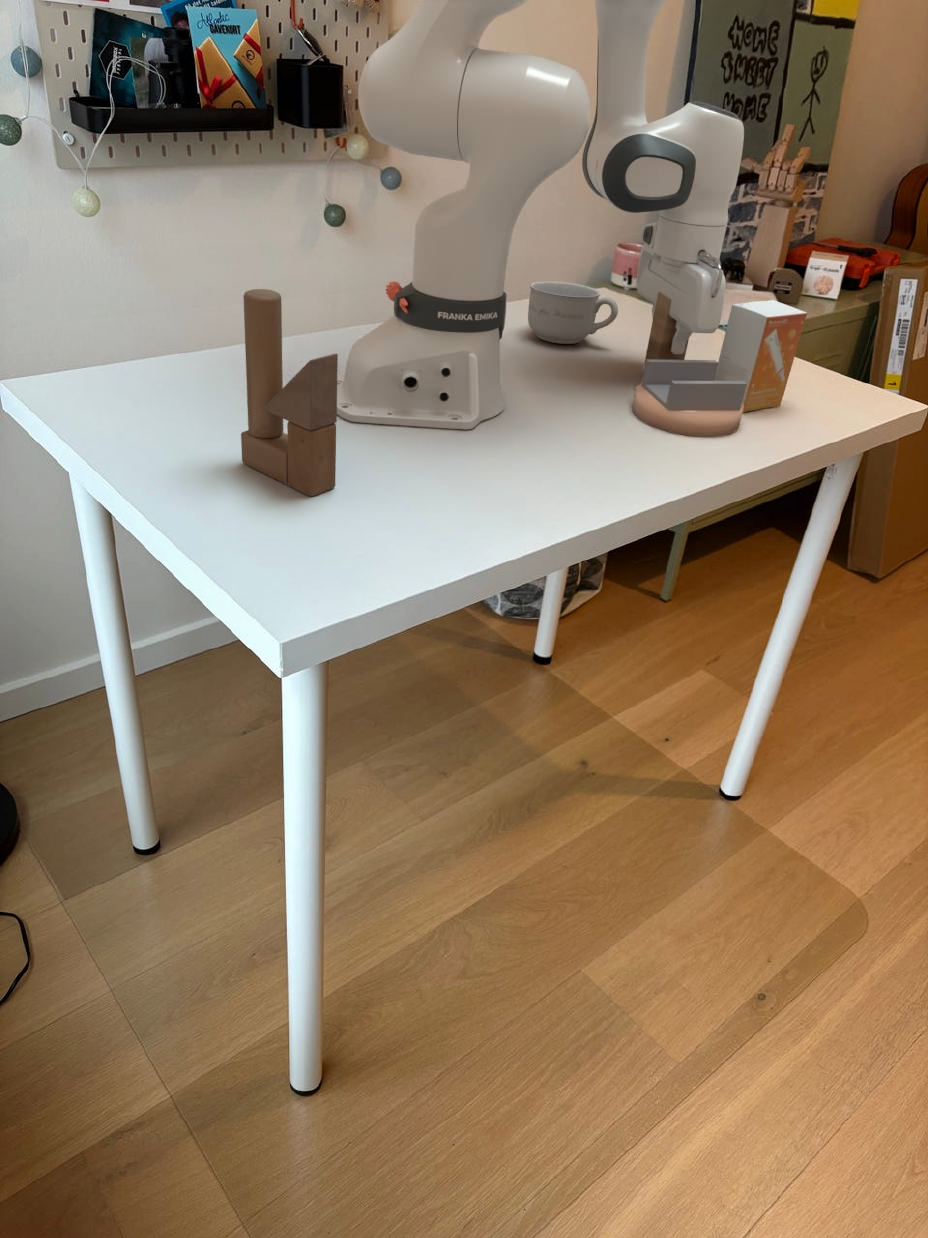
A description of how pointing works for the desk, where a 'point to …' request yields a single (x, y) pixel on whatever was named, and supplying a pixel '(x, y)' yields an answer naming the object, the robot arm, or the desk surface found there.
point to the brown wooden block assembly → (287, 404)
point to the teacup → (566, 311)
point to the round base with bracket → (688, 398)
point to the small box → (760, 350)
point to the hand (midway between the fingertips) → (666, 345)
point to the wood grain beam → (662, 333)
